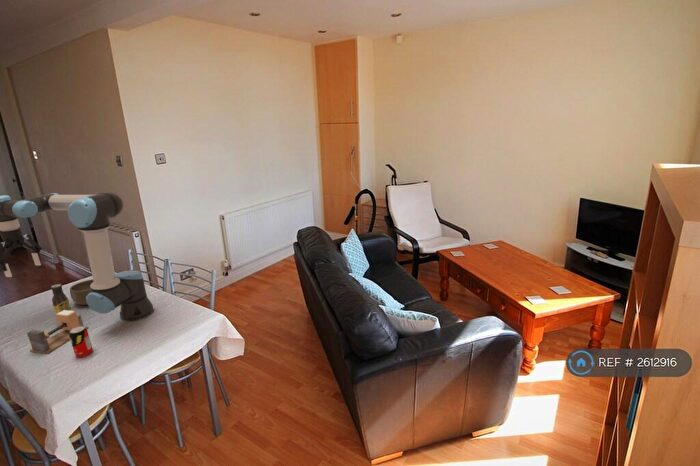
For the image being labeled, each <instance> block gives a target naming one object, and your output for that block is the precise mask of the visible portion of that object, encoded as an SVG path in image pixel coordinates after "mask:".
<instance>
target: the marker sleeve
mask: <svg viewBox="0 0 700 466" xmlns="http://www.w3.org/2000/svg"><path fill="white" fill-rule="evenodd" d="M77 315H78V313H77V311H75V310H71V311H68V310H63V311H61V312H59V313H58V314H56V315H55V317H56V322H57V324H58V327H59V326H60V325H62V324H64V323H66V324H67V325H66V326H65V327H63V328H61V329H60V330H71V329H73V328H75V327H79V326H80V324H79V321H78V317H77Z"/></svg>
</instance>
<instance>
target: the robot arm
mask: <svg viewBox="0 0 700 466" xmlns="http://www.w3.org/2000/svg"><path fill="white" fill-rule="evenodd" d="M124 207H125V205H124V201H123V198H122V197H121V196H120V195H119V194H118V193H116V192H111V191H104V192H101V191H100V192H97V193H95V194H59V193H57V192H51V193H47V194H43V195H39V196H34V197H30V198H24V199H21V200H13V199H12V198H11V196H10V195H8V194H7V195H6V194H4V195H0V238H1V240H2V242H0V269H1V272H4V275H5V277H6V278H11V277H13V275H12V272H11V269H10V267H9V263H7V261H8V259H9V256H10V255H11V253H12V251H13V250H15V249H18V248H21V247H23V248H24V249H26V250H29V251H30V252H31V257H32V260H33V262H34V263H33V264H34V265H35V266H42V263H41V260H40V258H41V256H40V252H41V251H42V249H43V248H42V246H40V245H39V243H37V242H36V241H35V240H34V239H33V238H32V236H31V234H28V233H27V234H24V235H23V231H22V228H21V227H20V226H21V225H20V224H21V223H20V222H19V219H18V218H21V219H22V218H24V219H27V218H32V217H34V216H35V215H38V214H41V213H45V212H48V211H67V216H68V219H69V221H70V222H71V224H72V225H73V226H75V227H76V228H77V229H78V231H81V232H82V233H83V237H84V241H85V247H86V251H87V256H88V262H89V265H90V270H91V271H90V272H91V275H92V276H91V277H92V279H93V283H92V284H91V285H90V288H91V293H89V294H88V295H87V297H86V301H87V304H88V305H87V306H88V307H89V309H91V310H93V311H94V312H95V313H96V314H101V315H102V314H107V313H110V312H111V311H114V310H115V309H117V308H119V307H120V311H119V317H120V320H121V321H124V322H132V321H133V322H134V321H139V320H142V319H144V318H147V317H149V316H150V315H151V314H152V313H154V310H155V309H154V305H153V303H152V302H151V300H150V299H149V297H148V295H147V290H146V285H145V281H144V277H143V274H142V272H141V271H139V270H136V269H134V270H123V271H120V272H117V273H116V271H115V267H114V260H113V254H112V249H111V244H110V239H109V234H108V232H109V231H108V229H109V228H110V227H111V222H110V220H111V219H112V218H115V217H117V216H119V215H120V214H121V213H122V211H123V210H124ZM25 240H26V242H25ZM28 243H29V244H28Z"/></svg>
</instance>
